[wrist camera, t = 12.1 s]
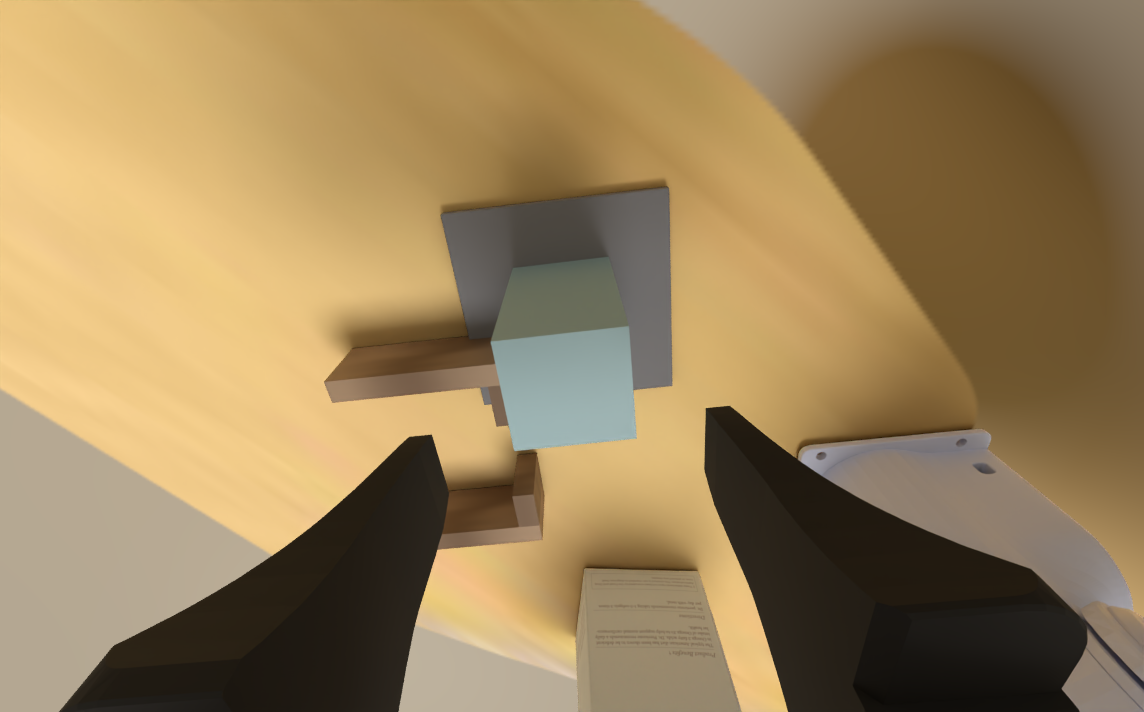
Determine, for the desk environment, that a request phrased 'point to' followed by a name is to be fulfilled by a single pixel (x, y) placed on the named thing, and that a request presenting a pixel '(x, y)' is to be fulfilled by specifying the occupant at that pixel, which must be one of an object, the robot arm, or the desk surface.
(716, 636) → the supplement box
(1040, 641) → the robot arm
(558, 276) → the block
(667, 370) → the mat
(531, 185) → the desk surface
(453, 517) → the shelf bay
